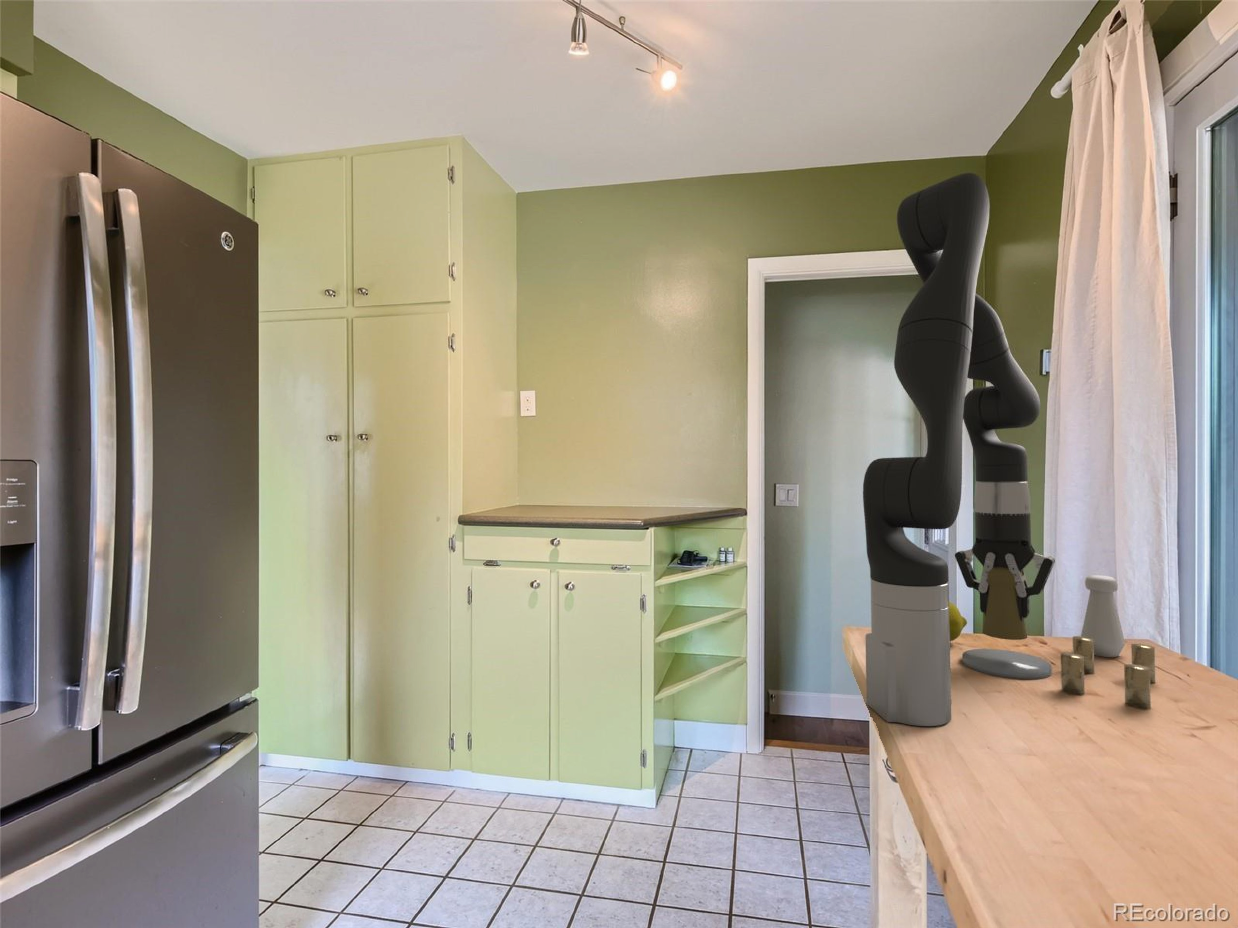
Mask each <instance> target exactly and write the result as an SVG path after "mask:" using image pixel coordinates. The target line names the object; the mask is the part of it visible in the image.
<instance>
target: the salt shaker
mask: <svg viewBox="0 0 1238 928" xmlns="http://www.w3.org/2000/svg"><path fill="white" fill-rule="evenodd" d="M1084 585H1085V589H1087V590H1088V591H1089V594H1088V600H1087V601H1088V602H1087V606H1086V611H1085V615H1084V620H1083V625H1082V629H1081V633H1080V636H1082V637H1088V638H1092V639H1094V656H1097V657H1103V658H1104V657H1105V658H1116V657H1119V656H1120V654H1121V653H1122V651H1123V649H1124V648H1125V645H1126V642H1125V636H1124V633H1123V629H1122V625H1121V621H1120V619H1121V618H1120V616H1119V613H1118V608H1117V604H1116V603H1117V602H1116V600H1115V595H1114V592H1117V591H1118V586H1119V585H1118V581H1117V580H1116V579H1115V578H1114V577H1111V576H1109V575H1100V574H1099V575H1097V574H1095V575H1094V574H1093V575H1088V576H1086V577H1085V581H1084Z"/></svg>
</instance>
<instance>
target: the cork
mask: <svg viewBox="0 0 1238 928" xmlns="http://www.w3.org/2000/svg"><path fill="white" fill-rule="evenodd" d="M987 573H988V575H987V580H986V582H987V583H988V584H989V587H988V594H989V595H988V602H987V610H986V616H985V615H984V617H983V618H984V619H983V624H982V625H983V626H982V633H983V634H984V635H985V636H987V637H991V638H996V639H1001V640H1010V641H1021V640H1025V639H1028V633H1027V626H1026V621H1025V619H1024V618H1023V621H1021V620H1020V617H1019V612H1018V607H1017V602H1016V597H1018V594H1017V590H1016V587H1015V586H1016V585H1017V583H1016V582H1015V577H1014V575H1013V573H1012V572H1011V571H1009V568H1006V567H993V568H992V569H991V570H990V571H989V572H987ZM1020 574H1021V576H1022V572H1020ZM1015 575H1016V574H1015Z"/></svg>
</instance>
